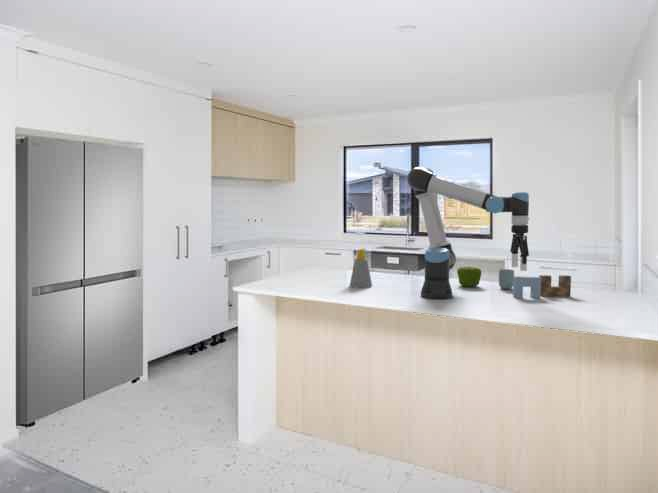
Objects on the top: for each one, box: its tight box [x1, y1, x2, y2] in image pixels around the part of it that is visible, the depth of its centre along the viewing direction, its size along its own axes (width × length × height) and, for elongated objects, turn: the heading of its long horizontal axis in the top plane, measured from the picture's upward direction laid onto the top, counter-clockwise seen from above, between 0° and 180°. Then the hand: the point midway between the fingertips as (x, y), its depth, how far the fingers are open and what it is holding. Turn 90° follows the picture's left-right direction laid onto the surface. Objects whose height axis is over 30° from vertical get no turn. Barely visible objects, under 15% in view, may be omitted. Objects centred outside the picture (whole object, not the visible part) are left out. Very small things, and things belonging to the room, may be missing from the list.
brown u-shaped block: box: [538, 274, 572, 298], centre depth 245 cm, size 14×3×10 cm, turn 86°
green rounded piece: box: [456, 266, 482, 288], centre depth 274 cm, size 12×12×11 cm
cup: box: [498, 268, 515, 290], centre depth 265 cm, size 8×8×10 cm
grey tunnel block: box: [512, 275, 541, 299], centre depth 241 cm, size 12×3×10 cm, turn 86°
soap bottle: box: [349, 248, 373, 289], centre depth 274 cm, size 12×12×20 cm
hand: (518, 268), depth 241 cm, fingers open, 13 cm apart
